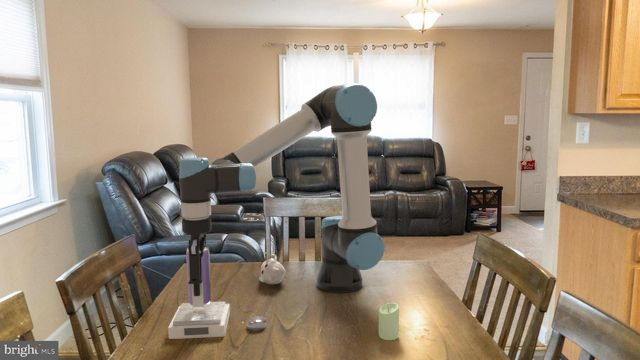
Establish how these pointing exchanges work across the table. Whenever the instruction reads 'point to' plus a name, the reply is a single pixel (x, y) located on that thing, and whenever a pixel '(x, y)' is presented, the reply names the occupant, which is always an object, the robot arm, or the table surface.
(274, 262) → the cat figurine
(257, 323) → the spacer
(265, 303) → the table surface
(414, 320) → the table surface
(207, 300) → the beverage can
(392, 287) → the table surface
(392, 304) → the candle
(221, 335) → the base
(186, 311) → the pan
